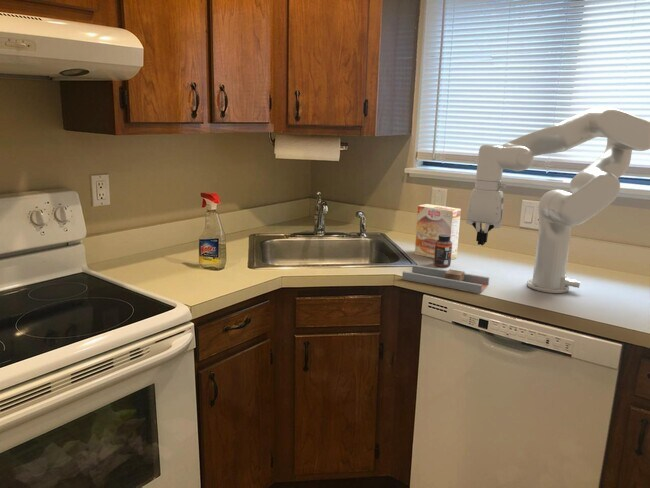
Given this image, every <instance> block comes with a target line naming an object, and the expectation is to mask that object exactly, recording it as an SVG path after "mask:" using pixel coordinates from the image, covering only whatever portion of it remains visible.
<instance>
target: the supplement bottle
mask: <svg viewBox="0 0 650 488" xmlns="http://www.w3.org/2000/svg"><path fill="white" fill-rule="evenodd" d="M451 252H452V242H451V241H450V235H446V234H440V235H439V240H437V241H436V244H435V257H434V258H433V264H434V265H435V266H436V267H438V268H439V267H440V268H448V267H450V266H451V264H452V260H451Z"/></svg>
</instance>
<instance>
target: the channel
mask: <svg viewBox="0 0 650 488" xmlns="http://www.w3.org/2000/svg"><path fill="white" fill-rule="evenodd" d="M411 268H412V269H411V271H406V270H405V271H402V277H401V280H404V281H409V282H410V281H411V282H415V283H416V282H417V283H421V284H427V285H430V286H431V285H432V286H438V287H443V288H450V289H455V290H460V291H465V292H470V293H477V294H482V293H483V292H484V291H485V290H486V288H487V287H488V286H489V285H490V276H484V275H479V274H478V275H477V274H472V273H466V272H465V274H464V281H458V280H452V279H446V278H445V273H446V272H447V271H448V270H449V269H448V270H447V269H441V268H435V267H429V266H428V267H427V266H423V265H417V264H413V265H412V266H411Z"/></svg>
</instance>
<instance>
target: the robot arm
mask: <svg viewBox="0 0 650 488" xmlns="http://www.w3.org/2000/svg"><path fill="white" fill-rule="evenodd" d="M595 138H606V139H607V140H606V147H605V150H604V152H603V153H602V155H600V157H598V158H597V159H596V160H594V161H593V162H592V163H591V164H589V165H588V166H586V167H584V169H582V170H580V171H579V172H578V173H577V174H576V175H574V176H573V178H572V179H571V181H570V183H569V190H570V191H571V192H570V191H567V190H563V189H552V190H549V191H547V192H545V193H544V194H543V195H542V196H541V198H540V200H539V202H538V203H539V204H538V233H537V240H536V248H535V249H536V250H535V257H534V267H533V275H532V278H530V279H528V280H527V281H526V285H527V286H528V288H530V289H533V290H535V291H538V292H543V293H548V294H562V293H567V292H569V290H570V287H572V288H577V289H579V288H580V286H581V281H578V280H576V279H570V278H569V277H568V274H566V273H567V267H568V266H567V265H568V259H569V253H570V252H569V251H570V244H571V236H572V228H571V227H577V226H579V225H582V224H584V223H585V222H587V221H589V220H591V218H593V217H594V216H596V215H597V214H598V213H600V212H601V211H603V210H605V208H607V207H608V206H609V205H611V204H612V203H613V202H614V201H615V200H616V199H617V197H618V195H619V194H620V190H621V183H620V180H619V178H620V177H622V176H623V175H624V174H625V173H626V172H627V171H628V168H629V167H630V164H631V159H632V154H633V151H637V152H643V151H649V150H650V120H647V119H645V118H642V117H639V116H636V115H634V114H630V113H628V112H626V111H623V110H620V109H617V108H613V107H594V108H590V109H587V110H585V111H583V112H580V113H579V114H576V115H574V116H572V117H570V118H567V119H566V120H562V121H561V122H559V123H558V122H557V123H555V124H553V125H551V126H548V127H545V128H542V129H539V130H536V131H534V132H529V133H527V134H524V135H522V136H520V137H517V138H515V139H513V140H512V139H511V141H508V142H506V143H504V144H503V145H497V144H482V145H481V146H480V147H479V148H478V156H477V157H478V158H477V165H476V175H475V184H474V188H472V190H471V194H470V197H469V201H468V205H467V206H468V207H467V212H466V221H465V224H467V225H470V226H473V228H474V230H475V231H476V242H477V245H481V246H484V245H486V243H487V242H488V236H489V232H490V231H491V230H493V229H500V228H501V227H502V220H503V217H504V215H503V214H504V191H502V189H506V187H507V183H503V181H502V179H503V173H504V170H509V171H514V172H523V171H527V170H528V169H529V168H530V167H531V166H532V165H533V163H534V158H535V157H537V156H541V155H548V154H558V153H562V152H566V151H568V150H570V149H572V148H575V147H576V146H579V145H581V144H584V143H586V142H588V141H591V140H593V139H595ZM483 224H485V225H484V229H483Z"/></svg>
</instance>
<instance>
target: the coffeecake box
mask: <svg viewBox="0 0 650 488" xmlns="http://www.w3.org/2000/svg"><path fill="white" fill-rule="evenodd" d="M461 212H462V208H457V207H450V206H443V205H439V204H438V205H436V204H430V203H425V204H420V205H419V204H418V206H417V214H416V215H417V218H416V230H415V243H414V244H415V246H414V248H415V249H414V255H416V256H423V257H426V258H431V259H434V257H435V244H436V241H437V240H439V235H440V234H446V235H450V241H451V242H452V252H451V261H452V260H456V259H457V258H458V257H457V256H458V249H459V247H458V245H459V236H460V234H459V233H460V225H461Z"/></svg>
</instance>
